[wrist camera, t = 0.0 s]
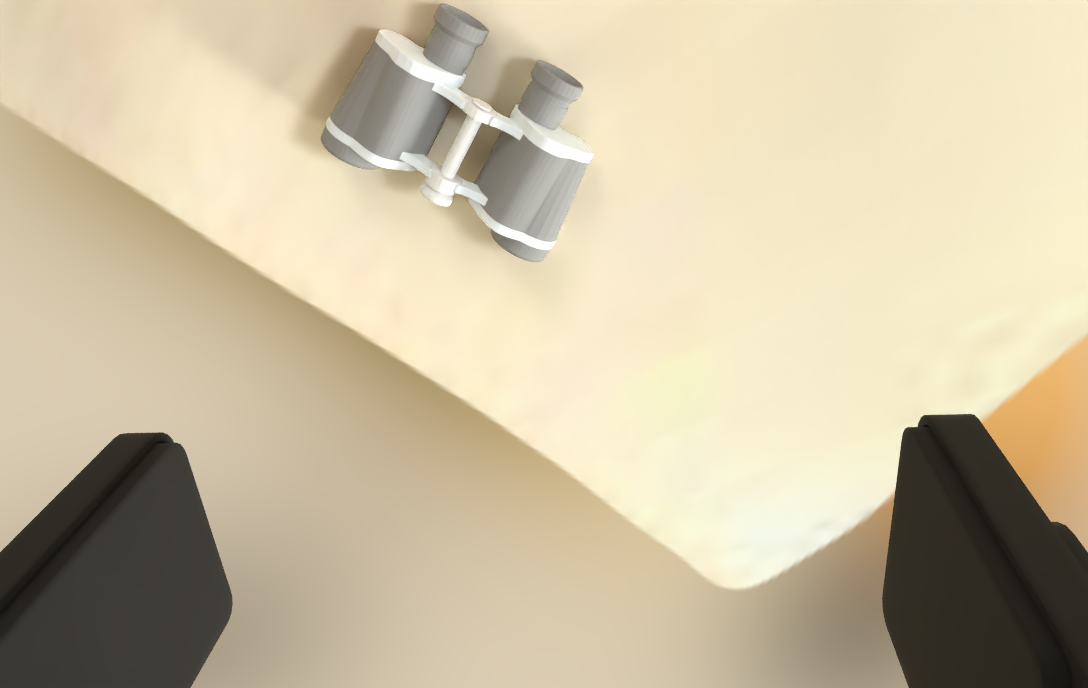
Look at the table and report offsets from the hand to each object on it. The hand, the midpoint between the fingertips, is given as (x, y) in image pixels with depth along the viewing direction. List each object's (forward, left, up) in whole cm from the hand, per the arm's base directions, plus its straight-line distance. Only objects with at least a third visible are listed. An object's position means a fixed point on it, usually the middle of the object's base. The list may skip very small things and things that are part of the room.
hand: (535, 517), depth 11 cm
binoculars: (+5, -4, -31) cm, 32 cm away
